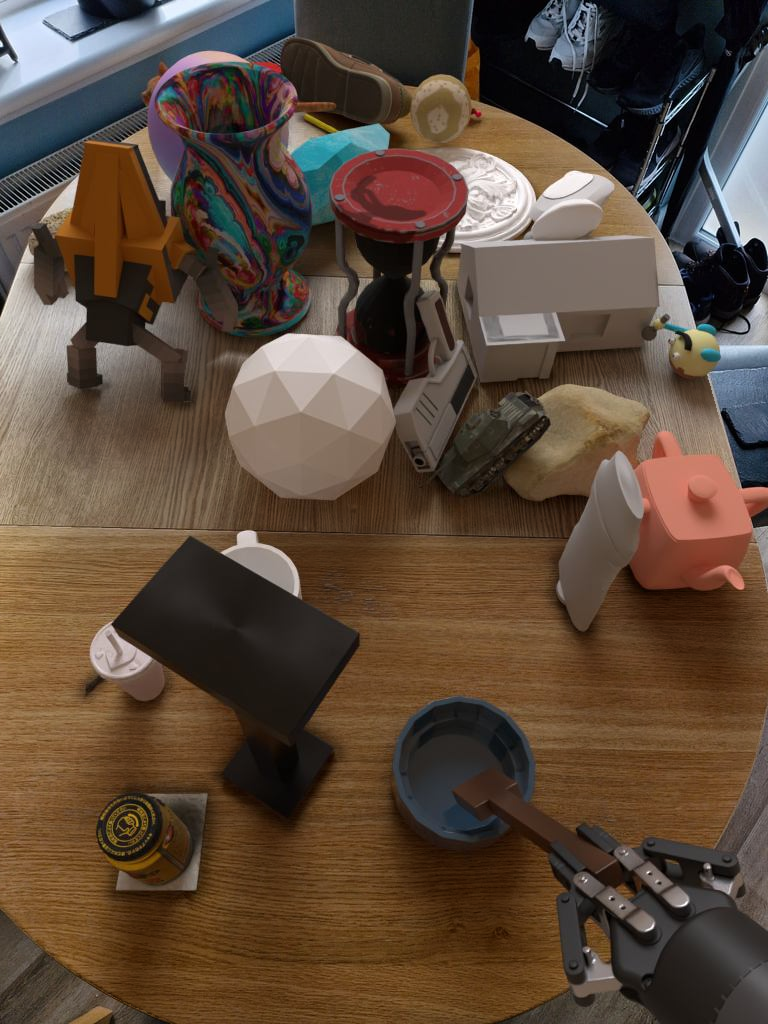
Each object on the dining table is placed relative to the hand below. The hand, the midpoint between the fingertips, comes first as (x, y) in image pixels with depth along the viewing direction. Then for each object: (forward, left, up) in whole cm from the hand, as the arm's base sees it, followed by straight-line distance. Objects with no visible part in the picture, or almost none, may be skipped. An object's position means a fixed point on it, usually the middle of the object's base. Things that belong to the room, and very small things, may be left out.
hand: (568, 844), depth 53 cm
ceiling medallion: (+89, +55, -20) cm, 106 cm away
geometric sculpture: (+30, +43, -20) cm, 56 cm away
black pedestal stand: (-3, +25, -20) cm, 32 cm away
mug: (+9, +36, -21) cm, 43 cm away
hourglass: (+53, +46, -20) cm, 73 cm away
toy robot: (+28, +71, -20) cm, 79 cm away
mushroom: (+110, +65, -15) cm, 129 cm away
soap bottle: (+76, +31, -9) cm, 83 cm away
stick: (-4, +47, -20) cm, 52 cm away
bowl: (+5, +9, -20) cm, 23 cm away
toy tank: (+41, +24, -17) cm, 50 cm away
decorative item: (+42, +91, -20) cm, 103 cm away
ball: (+72, +80, 0) cm, 108 cm away
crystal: (+58, +71, -15) cm, 93 cm away
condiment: (-14, +30, -21) cm, 39 cm away
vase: (+51, +68, -20) cm, 87 cm away
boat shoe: (+98, +87, -15) cm, 132 cm away
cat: (+76, +87, -20) cm, 117 cm away
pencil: (+94, +81, -21) cm, 126 cm away
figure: (+107, +72, -17) cm, 130 cm away
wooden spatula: (+1, +2, -6) cm, 7 cm away
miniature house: (+69, +28, -20) cm, 78 cm away
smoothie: (-3, +42, -21) cm, 47 cm away
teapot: (+41, +1, -21) cm, 46 cm away
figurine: (+72, +9, -13) cm, 73 cm away
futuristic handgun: (+44, +39, -6) cm, 59 cm away
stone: (+48, +16, -20) cm, 55 cm away
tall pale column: (+31, +8, -20) cm, 38 cm away
